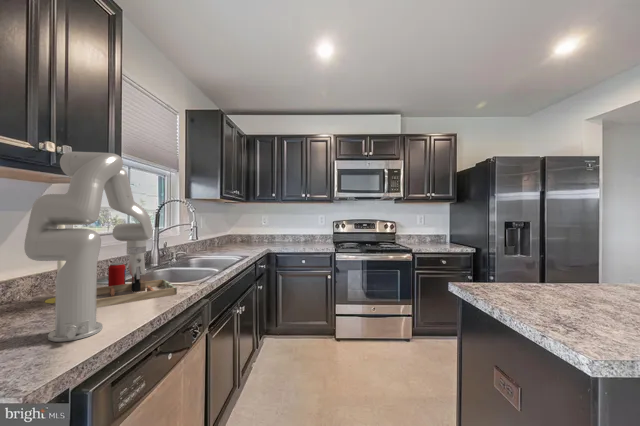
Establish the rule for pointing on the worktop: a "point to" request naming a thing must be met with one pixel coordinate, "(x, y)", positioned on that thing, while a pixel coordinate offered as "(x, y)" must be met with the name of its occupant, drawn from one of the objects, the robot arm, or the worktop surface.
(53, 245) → the robot arm
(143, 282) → the block
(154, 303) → the worktop surface
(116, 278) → the beverage can
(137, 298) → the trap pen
